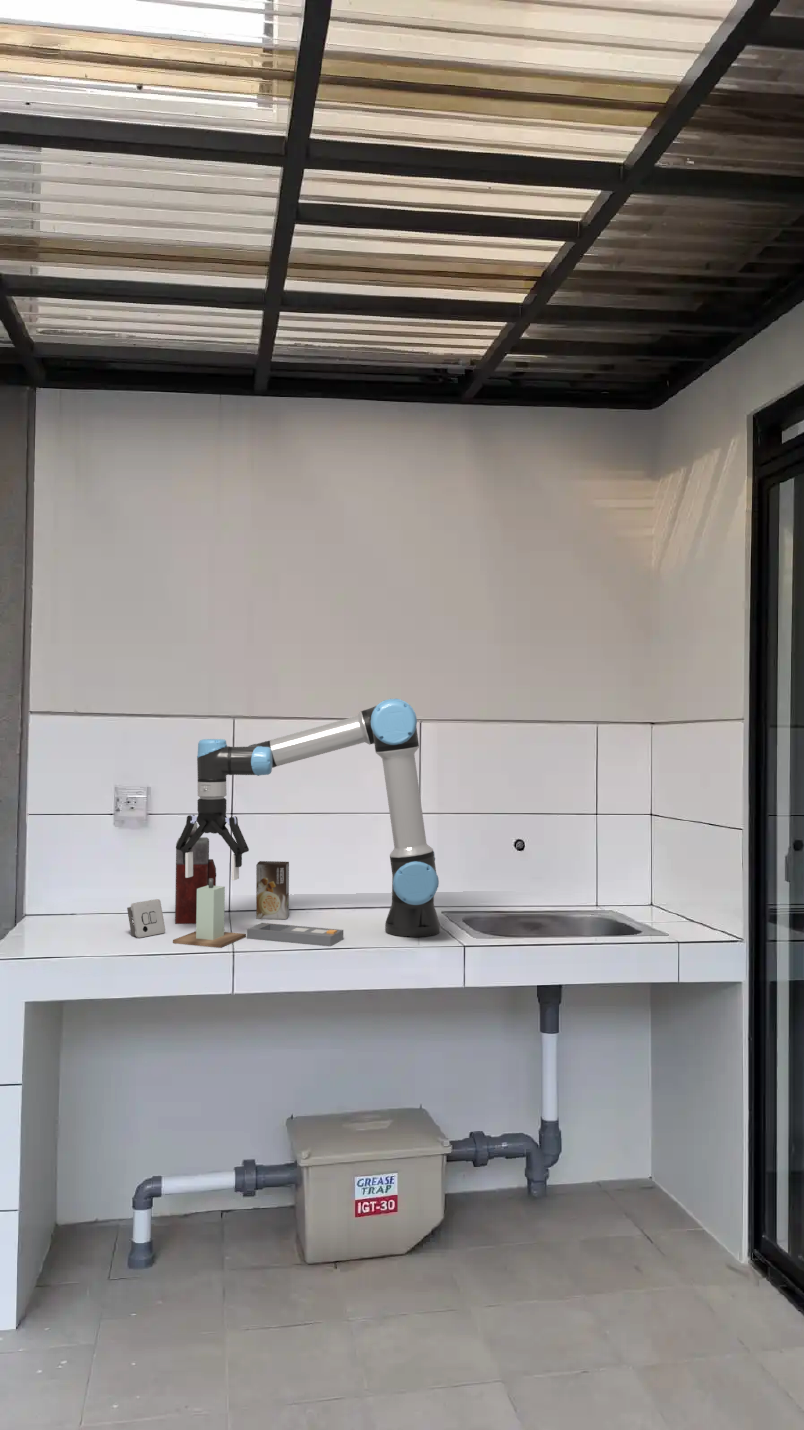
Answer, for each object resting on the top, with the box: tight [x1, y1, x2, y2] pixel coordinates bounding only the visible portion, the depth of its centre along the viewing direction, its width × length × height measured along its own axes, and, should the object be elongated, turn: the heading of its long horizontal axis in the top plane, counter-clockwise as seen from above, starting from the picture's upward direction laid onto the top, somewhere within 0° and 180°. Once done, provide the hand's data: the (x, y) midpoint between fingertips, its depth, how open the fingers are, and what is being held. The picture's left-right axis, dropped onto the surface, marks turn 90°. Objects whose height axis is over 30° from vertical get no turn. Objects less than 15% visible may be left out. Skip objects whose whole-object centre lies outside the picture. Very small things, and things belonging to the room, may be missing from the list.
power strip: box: [246, 922, 344, 947], centre depth 291 cm, size 24×9×3 cm, turn 71°
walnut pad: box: [172, 930, 247, 949], centre depth 288 cm, size 14×14×1 cm
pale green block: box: [195, 878, 226, 940], centre depth 288 cm, size 5×6×15 cm
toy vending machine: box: [174, 822, 217, 925], centre depth 312 cm, size 9×11×28 cm
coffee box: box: [255, 860, 290, 920], centre depth 319 cm, size 9×6×16 cm
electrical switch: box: [126, 898, 166, 939], centre depth 293 cm, size 9×5×9 cm, turn 141°
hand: (212, 878), depth 287 cm, fingers open, 13 cm apart
